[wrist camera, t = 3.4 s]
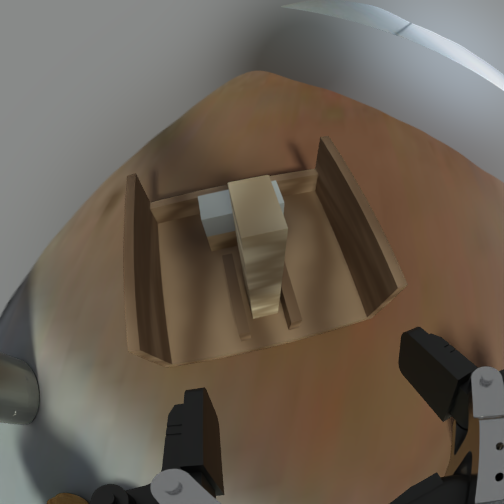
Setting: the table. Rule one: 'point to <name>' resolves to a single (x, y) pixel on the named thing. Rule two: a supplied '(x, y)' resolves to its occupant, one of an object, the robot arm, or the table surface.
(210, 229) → the grey offcut
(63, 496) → the yellow stuffed toy
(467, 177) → the table surface
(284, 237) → the tan wooden bar
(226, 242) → the oak offcut
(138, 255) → the brown wooden tray
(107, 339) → the table surface
